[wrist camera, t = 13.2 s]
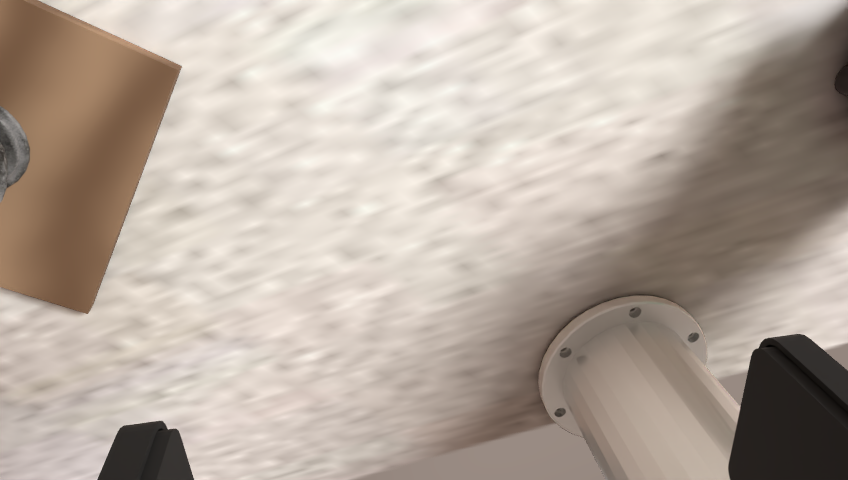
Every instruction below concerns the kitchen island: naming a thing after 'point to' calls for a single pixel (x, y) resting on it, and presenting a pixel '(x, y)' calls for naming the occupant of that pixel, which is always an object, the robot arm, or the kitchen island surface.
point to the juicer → (842, 81)
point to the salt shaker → (12, 151)
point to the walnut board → (73, 147)
